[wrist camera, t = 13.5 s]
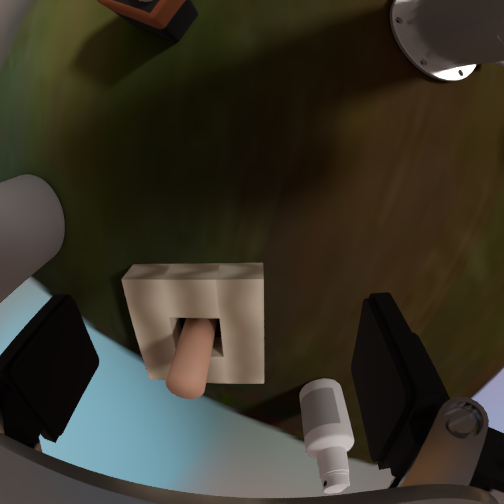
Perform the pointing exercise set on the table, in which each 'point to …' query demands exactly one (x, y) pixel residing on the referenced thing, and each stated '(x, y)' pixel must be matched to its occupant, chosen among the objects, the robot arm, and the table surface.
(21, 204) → the cylinder vase
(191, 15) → the battery
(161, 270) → the socket block
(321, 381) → the spray bottle
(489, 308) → the table surface
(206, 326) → the peg
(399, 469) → the robot arm
